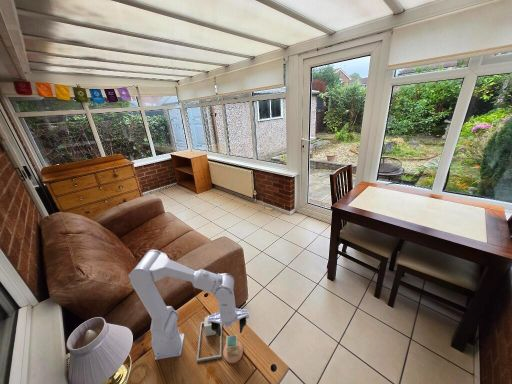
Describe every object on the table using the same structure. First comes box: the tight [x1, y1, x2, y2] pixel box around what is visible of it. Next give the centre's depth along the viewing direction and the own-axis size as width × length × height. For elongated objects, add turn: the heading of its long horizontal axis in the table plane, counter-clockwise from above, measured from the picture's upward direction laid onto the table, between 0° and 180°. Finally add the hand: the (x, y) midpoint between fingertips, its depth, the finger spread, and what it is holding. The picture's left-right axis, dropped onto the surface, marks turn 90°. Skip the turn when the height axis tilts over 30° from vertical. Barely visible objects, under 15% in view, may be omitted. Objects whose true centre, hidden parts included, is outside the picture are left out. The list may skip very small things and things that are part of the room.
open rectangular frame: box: [196, 321, 223, 363], centre depth 82 cm, size 9×14×1 cm, turn 8°
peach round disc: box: [222, 340, 244, 364], centre depth 78 cm, size 8×8×1 cm
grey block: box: [203, 316, 217, 337], centre depth 85 cm, size 4×4×6 cm
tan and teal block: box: [225, 334, 239, 357], centre depth 76 cm, size 4×4×6 cm
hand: (230, 331), depth 76 cm, fingers open, 7 cm apart
